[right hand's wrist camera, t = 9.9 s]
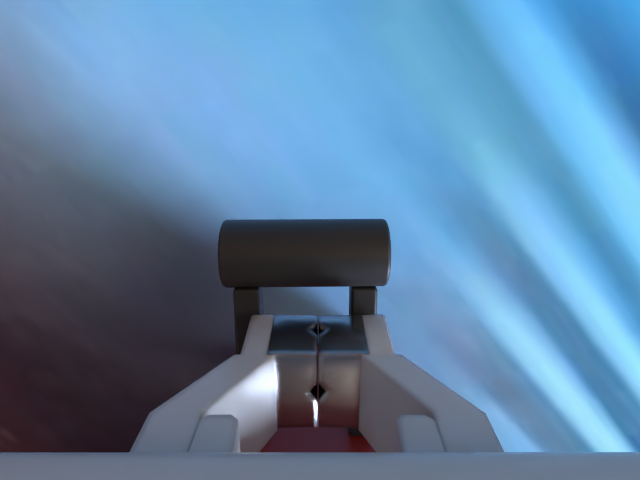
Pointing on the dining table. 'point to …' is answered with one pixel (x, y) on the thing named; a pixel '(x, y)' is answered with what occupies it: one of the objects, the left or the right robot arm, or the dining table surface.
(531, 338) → the dining table surface
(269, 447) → the drawer
